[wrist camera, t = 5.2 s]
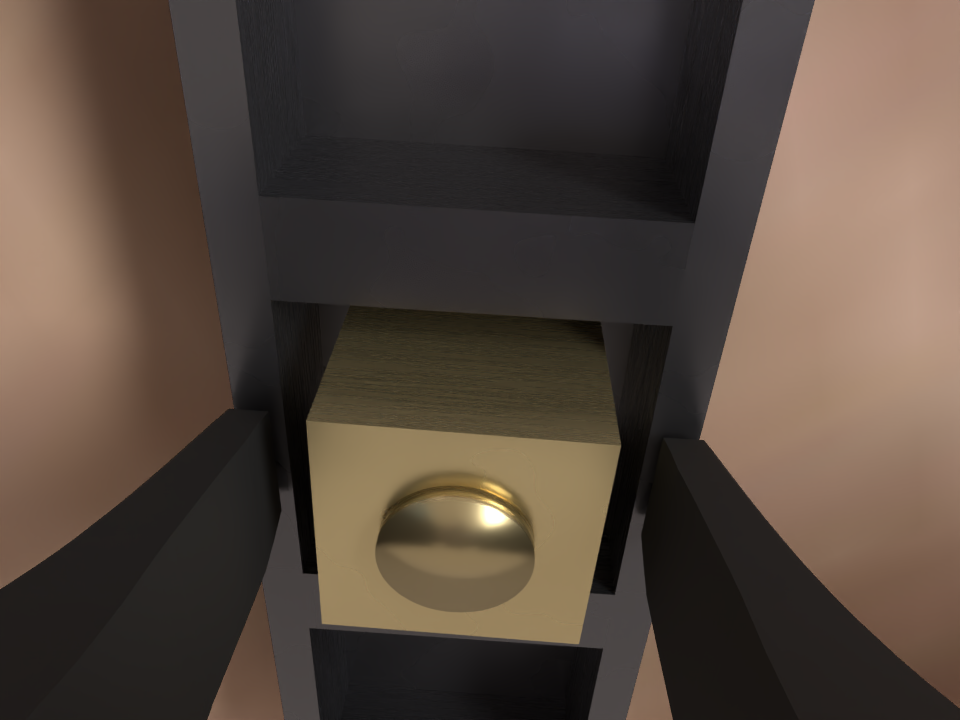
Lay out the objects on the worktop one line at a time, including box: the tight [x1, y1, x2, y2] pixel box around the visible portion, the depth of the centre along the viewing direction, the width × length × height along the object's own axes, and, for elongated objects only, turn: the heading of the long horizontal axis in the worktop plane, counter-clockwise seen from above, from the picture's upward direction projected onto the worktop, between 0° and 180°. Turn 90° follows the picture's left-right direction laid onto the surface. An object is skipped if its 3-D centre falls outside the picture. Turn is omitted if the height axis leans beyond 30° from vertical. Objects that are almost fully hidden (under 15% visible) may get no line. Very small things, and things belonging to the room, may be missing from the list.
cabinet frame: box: [168, 0, 815, 720], centre depth 13 cm, size 7×22×3 cm, turn 177°
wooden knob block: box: [306, 305, 621, 644], centre depth 12 cm, size 4×4×4 cm
